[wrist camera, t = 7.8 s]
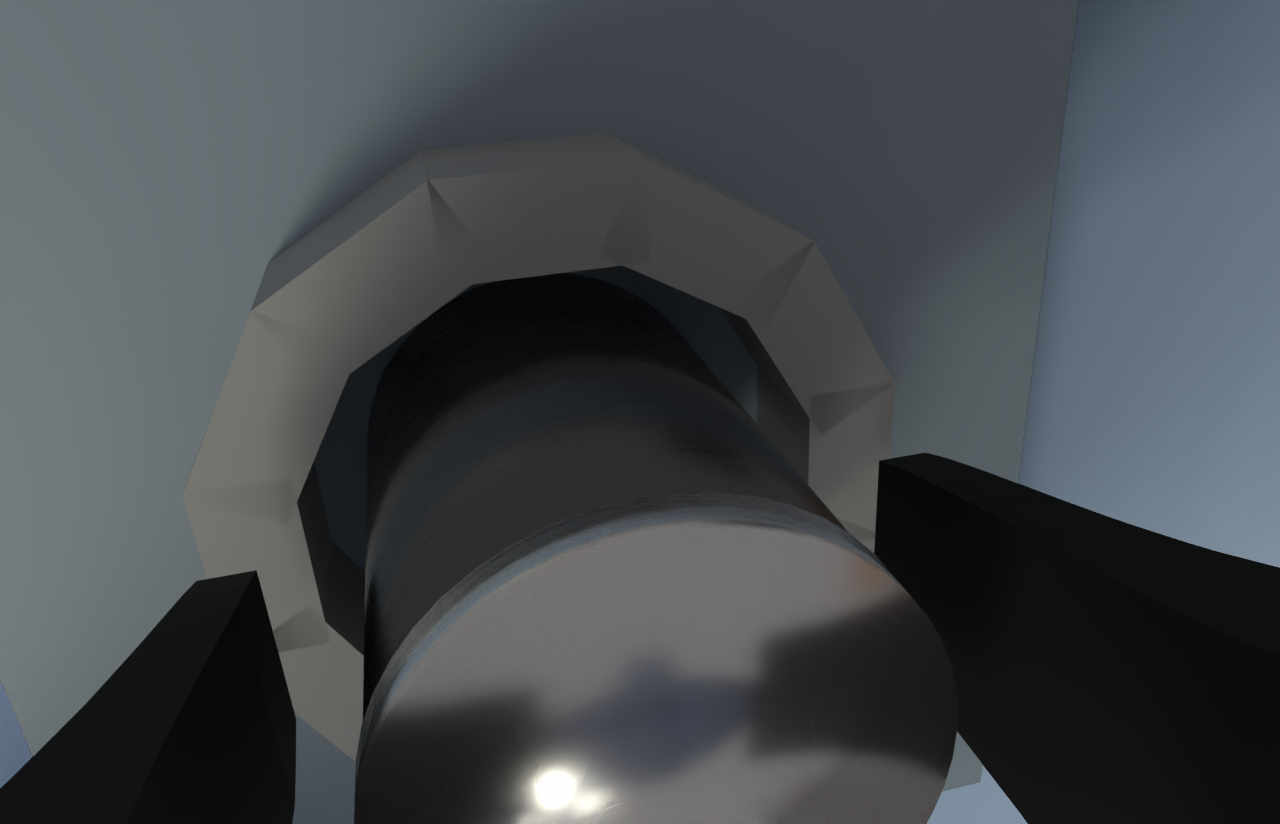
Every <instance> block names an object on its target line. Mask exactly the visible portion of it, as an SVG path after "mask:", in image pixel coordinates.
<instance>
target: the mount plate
mask: <svg viewBox="0 0 1280 824" xmlns="http://www.w3.org/2000/svg"><path fill="white" fill-rule="evenodd" d="M1078 2H1079V0H0V680H1V683H2V685H3V687H4V690H5V692H6V694H7V697H8V699H9V701H10V704H11V706H12V708H13V711H14V713H15V715H16V718H17V720H18V722H19V725H20V727H21V730H22V732H23V734H24V737H25V739H26V741H27V744H28V746H29V748H30V751H31V753H32V755H33V756H34V755H35V754H36V753H37V752H38V751H39V750H40V749H41V748H42V747H43V746H44V745H45V744H46V743H47V742H48V741H49V740H50V739H51V738H52V737H53V736H54V735H55V734H56V733H57V732H58V731H59V730H60V729H61V728H62V727H63V726H64V725H65V724H66V723H67V722H68V721H69V720H70V719H71V718H72V717H73V716H74V715H75V714H76V713H77V712H78V711H79V710H80V709H81V708H82V707H83V706H84V705H85V704H86V703H87V702H88V701H89V700H90V699H91V698H92V696H93V695H94V694H95V693H96V692H97V691H98V690H99V689H100V688H101V686H102V685H103V684H104V683H105V682H106V681H107V680H108V679H109V678H110V677H111V675H112V674H113V673H114V672H115V671H116V670H117V669H118V668H119V667H120V666H121V664H122V663H123V662H124V661H125V660H126V659H127V658H128V657H129V656H130V654H131V653H132V652H133V651H134V650H135V649H136V648H137V647H138V646H139V644H140V643H141V642H142V641H143V640H144V639H145V638H146V636H147V635H148V634H149V633H150V632H151V631H152V630H153V628H154V627H155V626H156V625H157V624H158V623H159V622H160V620H161V619H162V618H163V617H164V616H165V615H166V614H167V612H168V611H169V610H170V609H171V608H172V607H173V606H174V604H175V603H176V602H177V601H178V600H179V599H180V598H181V597H182V595H183V594H184V593H185V592H186V591H187V590H188V589H189V588H190V587H191V586H192V585H193V584H194V583H195V582H196V581H199V580H204V579H210V578H216V577H221V576H227V575H233V574H238V573H244V572H250V571H255V570H257V574H258V578H259V581H260V585H261V589H262V593H263V596H264V600H265V604H266V608H267V611H268V615H269V619H270V623H271V626H272V630H273V634H274V638H275V641H276V645H277V649H278V653H279V656H280V660H281V664H282V668H283V671H284V675H285V679H286V683H287V686H288V690H289V694H290V698H291V702H292V705H293V709H294V713H295V717H296V782H295V808H294V815H293V822H292V824H354V803H355V763H356V754H357V749H358V743H359V737H360V731H361V726H362V723H363V676H364V617H365V559H366V500H367V442H368V424H369V417H370V411H371V406H372V402H373V399H374V396H375V393H376V389H377V386H378V384H379V382H380V380H381V378H382V376H383V373H384V371H385V369H386V367H387V365H388V364H389V362H390V361H391V359H392V358H393V356H394V355H395V353H396V351H397V350H398V348H399V347H400V346H401V344H402V343H403V342H404V341H405V340H406V339H407V338H408V336H409V335H410V334H411V333H412V332H413V331H414V329H415V328H416V327H418V326H419V325H420V324H421V323H422V322H423V321H424V320H426V319H427V318H428V317H429V316H430V315H431V314H432V313H434V312H435V311H437V310H438V309H439V308H441V307H442V306H444V305H445V304H447V303H448V302H450V301H451V300H453V299H454V298H456V297H458V296H460V295H462V294H464V293H466V292H468V291H470V290H472V289H474V288H477V287H479V286H482V285H485V284H488V283H491V282H494V281H502V280H510V279H518V278H526V277H534V276H542V275H550V274H558V273H566V274H575V275H581V276H586V277H592V278H596V279H599V280H602V281H605V282H608V283H611V284H614V285H617V286H619V287H621V288H623V289H625V290H627V291H629V292H631V293H634V294H635V295H637V296H638V297H640V298H641V299H643V300H645V301H646V302H648V303H649V304H651V305H652V306H653V307H655V308H656V309H657V310H658V311H659V312H660V313H661V314H662V315H664V316H665V317H666V318H667V319H668V320H669V321H670V322H671V323H672V325H673V326H674V327H675V328H676V329H677V330H678V332H679V333H680V334H681V335H682V336H683V337H684V339H685V340H686V341H687V342H688V343H689V345H690V346H691V347H692V348H693V349H694V350H695V352H696V353H697V354H698V355H699V356H700V358H701V359H702V360H703V361H704V362H705V363H706V365H707V366H708V367H709V368H710V369H711V371H712V372H713V373H714V374H715V375H716V376H717V378H718V379H719V380H720V381H721V382H722V384H723V385H724V386H725V387H726V388H727V389H728V391H729V392H730V393H731V394H732V395H733V397H734V398H735V399H736V400H737V401H738V402H739V404H740V405H741V406H742V407H743V408H744V410H745V411H746V412H747V413H748V414H749V415H750V417H751V418H752V419H753V420H754V421H755V423H756V424H757V425H758V426H759V427H760V428H761V430H762V431H763V432H764V433H765V434H766V436H767V437H768V438H769V439H770V440H771V441H772V443H773V444H774V445H775V446H776V447H777V449H778V450H779V451H780V452H781V453H782V454H783V456H784V457H785V458H786V459H787V460H788V461H789V463H790V464H791V465H792V466H793V467H794V469H795V470H796V471H797V472H798V473H799V474H800V476H801V477H802V478H803V479H804V480H805V482H806V483H807V484H808V485H809V486H810V487H811V489H812V490H813V491H814V492H815V493H816V495H817V496H818V497H819V498H820V499H821V500H822V502H823V503H824V504H825V505H826V506H827V508H828V509H829V510H830V511H831V512H832V513H833V515H834V516H835V517H836V518H837V519H838V521H839V522H840V523H841V524H842V525H843V526H844V528H845V529H846V530H847V531H848V532H849V533H850V534H851V535H853V536H854V537H855V538H856V539H857V540H858V541H860V542H861V543H862V544H863V545H864V546H866V547H867V548H868V549H869V550H870V551H871V552H873V553H874V546H875V527H876V509H877V490H878V472H879V461H880V460H885V459H891V458H897V457H902V456H908V455H914V454H919V453H929V454H933V455H937V456H941V457H944V458H948V459H951V460H954V461H957V462H960V463H963V464H966V465H969V466H972V467H975V468H977V469H980V470H983V471H986V472H989V473H991V474H994V475H997V476H999V477H1002V478H1005V479H1007V480H1010V481H1013V482H1015V483H1018V479H1019V471H1020V463H1021V455H1022V448H1023V440H1024V432H1025V424H1026V416H1027V408H1028V400H1029V392H1030V384H1031V376H1032V368H1033V360H1034V352H1035V344H1036V336H1037V328H1038V320H1039V312H1040V304H1041V296H1042V288H1043V281H1044V273H1045V265H1046V257H1047V249H1048V241H1049V233H1050V225H1051V217H1052V209H1053V201H1054V193H1055V185H1056V177H1057V169H1058V161H1059V153H1060V145H1061V137H1062V129H1063V121H1064V114H1065V106H1066V98H1067V90H1068V82H1069V74H1070V66H1071V58H1072V50H1073V42H1074V34H1075V26H1076V18H1077V10H1078ZM982 766H983V764H982V763H981V762H980V760H979V759H978V758H977V756H976V755H975V754H974V753H973V751H972V750H971V749H970V747H969V746H968V745H967V743H966V742H965V741H964V740H963V738H962V737H961V736H960V734H959V733H958V732H957V734H956V741H955V747H954V754H953V759H952V762H951V765H950V768H949V772H948V775H947V778H946V782H945V785H944V788H943V790H942V791H946V790H950V789H954V788H958V787H962V786H966V785H970V784H974V783H978V782H981V774H982Z"/></svg>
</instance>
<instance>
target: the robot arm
mask: <svg viewBox="0 0 1280 824" xmlns="http://www.w3.org/2000/svg"><path fill="white" fill-rule="evenodd" d="M874 554H875V555H876V556H877V557H878V559H879V560H880V561H881V562H882V563H883V564H884V566H885V567H886V568H887V569H888V570H889V571H890V573H891V574H892V575H893V576H894V577H895V578H896V580H897V581H898V582H899V583H900V584H901V585H902V586H903V588H904V589H905V590H906V591H907V592H908V593H909V595H910V596H911V597H912V598H913V599H914V601H915V602H916V603H917V604H918V605H919V607H920V608H921V609H922V610H923V611H924V613H925V614H926V615H927V616H928V617H929V619H930V620H931V622H932V624H933V626H934V628H935V629H936V631H937V633H938V635H939V636H940V638H941V640H942V642H943V643H944V646H945V649H946V652H947V655H948V658H949V661H950V663H951V666H952V669H953V674H954V680H955V686H956V692H957V698H958V728H957V732H958V733H959V734H960V736H961V737H962V738H963V740H964V741H965V742H966V743H967V745H968V746H969V747H970V749H971V750H972V751H973V753H974V754H975V755H976V756H977V758H978V759H979V760H980V762H981V763H982V764H983V765H984V767H985V768H986V769H987V771H988V772H989V773H990V775H991V776H992V777H993V778H994V780H995V781H996V782H997V784H998V785H999V786H1000V787H1001V789H1002V790H1003V791H1004V793H1005V794H1006V795H1007V797H1008V798H1009V799H1010V800H1011V802H1012V803H1013V804H1014V806H1015V807H1016V808H1017V809H1018V811H1019V812H1020V813H1021V815H1022V816H1023V818H1024V819H1025V820H1026V822H1027V823H1028V824H1280V568H1279V567H1275V566H1271V565H1267V564H1263V563H1259V562H1255V561H1251V560H1247V559H1243V558H1240V557H1236V556H1232V555H1228V554H1224V553H1220V552H1217V551H1213V550H1210V549H1206V548H1203V547H1200V546H1196V545H1193V544H1189V543H1186V542H1183V541H1180V540H1177V539H1174V538H1171V537H1167V536H1164V535H1161V534H1158V533H1155V532H1152V531H1149V530H1146V529H1143V528H1140V527H1136V526H1133V525H1130V524H1127V523H1125V522H1122V521H1119V520H1116V519H1113V518H1110V517H1107V516H1104V515H1102V514H1099V513H1096V512H1093V511H1090V510H1088V509H1085V508H1082V507H1079V506H1077V505H1074V504H1071V503H1069V502H1066V501H1063V500H1061V499H1058V498H1055V497H1052V496H1050V495H1047V494H1044V493H1042V492H1039V491H1037V490H1034V489H1031V488H1029V487H1026V486H1023V485H1021V484H1018V483H1015V482H1013V481H1010V480H1007V479H1005V478H1002V477H999V476H997V475H994V474H991V473H989V472H986V471H983V470H980V469H977V468H975V467H972V466H969V465H966V464H963V463H960V462H957V461H954V460H951V459H948V458H944V457H941V456H937V455H933V454H929V453H919V454H914V455H908V456H902V457H897V458H891V459H885V460H880V461H879V472H878V490H877V509H876V527H875V546H874ZM295 782H296V717H295V713H294V709H293V705H292V702H291V698H290V694H289V690H288V686H287V683H286V679H285V675H284V671H283V668H282V664H281V660H280V656H279V653H278V649H277V645H276V641H275V638H274V634H273V630H272V626H271V623H270V619H269V615H268V611H267V608H266V604H265V600H264V596H263V593H262V589H261V585H260V581H259V578H258V574H257V570H255V571H250V572H244V573H238V574H233V575H227V576H221V577H216V578H210V579H204V580H199V581H196V582H195V583H194V584H193V585H192V586H191V587H190V588H189V589H188V590H187V591H186V592H185V593H184V594H183V595H182V597H181V598H180V599H179V600H178V601H177V602H176V603H175V604H174V606H173V607H172V608H171V609H170V610H169V611H168V612H167V614H166V615H165V616H164V617H163V618H162V619H161V620H160V622H159V623H158V624H157V625H156V626H155V627H154V628H153V630H152V631H151V632H150V633H149V634H148V635H147V636H146V638H145V639H144V640H143V641H142V642H141V643H140V644H139V646H138V647H137V648H136V649H135V650H134V651H133V652H132V653H131V654H130V656H129V657H128V658H127V659H126V660H125V661H124V662H123V663H122V664H121V666H120V667H119V668H118V669H117V670H116V671H115V672H114V673H113V674H112V675H111V677H110V678H109V679H108V680H107V681H106V682H105V683H104V684H103V685H102V686H101V688H100V689H99V690H98V691H97V692H96V693H95V694H94V695H93V696H92V698H91V699H90V700H89V701H88V702H87V703H86V704H85V705H84V706H83V707H82V708H81V709H80V710H79V711H78V712H77V713H76V714H75V715H74V716H73V717H72V718H71V719H70V720H69V721H68V722H67V723H66V724H65V725H64V726H63V727H62V728H61V729H60V730H59V731H58V732H57V733H56V734H55V735H54V736H53V737H52V738H51V739H50V740H49V741H48V742H47V743H46V744H45V745H44V746H43V747H42V748H41V749H40V750H39V751H38V752H37V753H36V754H35V755H34V756H33V757H32V758H31V759H30V760H29V761H28V762H27V763H26V764H25V765H24V766H23V767H22V768H21V769H20V770H19V771H18V772H17V773H16V774H15V775H14V776H13V777H12V778H11V779H10V780H9V781H8V782H7V783H6V784H5V785H4V786H3V787H2V788H0V824H292V822H293V815H294V808H295Z"/></svg>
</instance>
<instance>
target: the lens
mask: <svg viewBox="0 0 1280 824" xmlns="http://www.w3.org/2000/svg"><path fill="white" fill-rule="evenodd" d="M957 728H958V698H957V692H956V686H955V680H954V674H953V669H952V666H951V663H950V661H949V658H948V655H947V652H946V649H945V646H944V643H943V642H942V640H941V638H940V636H939V635H938V633H937V631H936V629H935V628H934V626H933V624H932V622H931V620H930V619H929V617H928V616H927V615H926V614H925V613H924V611H923V610H922V609H921V608H920V607H919V605H918V604H917V603H916V602H915V601H914V599H913V598H912V597H911V596H910V595H909V593H908V592H907V591H906V590H905V589H904V588H903V586H902V585H901V584H900V583H899V582H898V581H897V580H896V578H895V577H894V576H893V575H892V574H891V573H890V571H889V570H888V569H887V568H886V567H885V566H884V564H883V563H882V562H881V561H880V560H879V559H878V557H877V556H876V555H875V554H874V553H873V552H871V551H870V550H869V549H868V548H867V547H866V546H864V545H863V544H862V543H861V542H860V541H858V540H857V539H856V538H855V537H854V536H853V535H851V534H850V533H849V532H848V531H847V530H846V529H845V528H844V526H843V525H842V524H841V523H840V522H839V521H838V519H837V518H836V517H835V516H834V515H833V513H832V512H831V511H830V510H829V509H828V508H827V506H826V505H825V504H824V503H823V502H822V500H821V499H820V498H819V497H818V496H817V495H816V493H815V492H814V491H813V490H812V489H811V487H810V486H809V485H808V484H807V483H806V482H805V480H804V479H803V478H802V477H801V476H800V474H799V473H798V472H797V471H796V470H795V469H794V467H793V466H792V465H791V464H790V463H789V461H788V460H787V459H786V458H785V457H784V456H783V454H782V453H781V452H780V451H779V450H778V449H777V447H776V446H775V445H774V444H773V443H772V441H771V440H770V439H769V438H768V437H767V436H766V434H765V433H764V432H763V431H762V430H761V428H760V427H759V426H758V425H757V424H756V423H755V421H754V420H753V419H752V418H751V417H750V415H749V414H748V413H747V412H746V411H745V410H744V408H743V407H742V406H741V405H740V404H739V402H738V401H737V400H736V399H735V398H734V397H733V395H732V394H731V393H730V392H729V391H728V389H727V388H726V387H725V386H724V385H723V384H722V382H721V381H720V380H719V379H718V378H717V376H716V375H715V374H714V373H713V372H712V371H711V369H710V368H709V367H708V366H707V365H706V363H705V362H704V361H703V360H702V359H701V358H700V356H699V355H698V354H697V353H696V352H695V350H694V349H693V348H692V347H691V346H690V345H689V343H688V342H687V341H686V340H685V339H684V337H683V336H682V335H681V334H680V333H679V332H678V330H677V329H676V328H675V327H674V326H673V325H672V323H671V322H670V321H669V320H668V319H667V318H666V317H665V316H664V315H662V314H661V313H660V312H659V311H658V310H657V309H656V308H655V307H653V306H652V305H651V304H649V303H648V302H646V301H645V300H643V299H641V298H640V297H638V296H637V295H635V294H634V293H631V292H629V291H627V290H625V289H623V288H621V287H619V286H617V285H614V284H611V283H608V282H605V281H602V280H599V279H596V278H592V277H586V276H581V275H575V274H566V273H558V274H550V275H542V276H534V277H526V278H518V279H510V280H502V281H494V282H491V283H488V284H485V285H482V286H479V287H477V288H474V289H472V290H470V291H468V292H466V293H464V294H462V295H460V296H458V297H456V298H454V299H453V300H451V301H450V302H448V303H447V304H445V305H444V306H442V307H441V308H439V309H438V310H437V311H435V312H434V313H432V314H431V315H430V316H429V317H428V318H427V319H426V320H424V321H423V322H422V323H421V324H420V325H419V326H418V327H416V328H415V329H414V331H413V332H412V333H411V334H410V335H409V336H408V338H407V339H406V340H405V341H404V342H403V343H402V344H401V346H400V347H399V348H398V350H397V351H396V353H395V355H394V356H393V358H392V359H391V361H390V362H389V364H388V365H387V367H386V369H385V371H384V373H383V376H382V378H381V380H380V382H379V384H378V386H377V389H376V393H375V396H374V399H373V402H372V406H371V411H370V417H369V424H368V442H367V500H366V559H365V617H364V676H363V723H362V726H361V731H360V737H359V743H358V749H357V754H356V763H355V803H354V824H926V823H927V821H928V820H929V818H930V816H931V814H932V812H933V810H934V808H935V806H936V803H937V801H938V799H939V797H940V794H941V792H942V790H943V788H944V785H945V782H946V778H947V775H948V772H949V768H950V765H951V762H952V759H953V754H954V747H955V741H956V734H957Z"/></svg>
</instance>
